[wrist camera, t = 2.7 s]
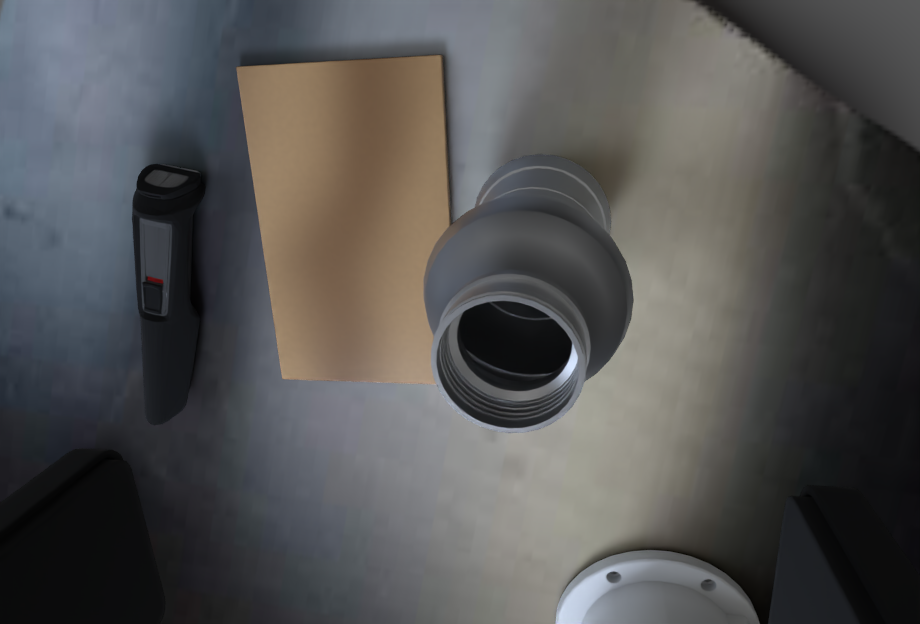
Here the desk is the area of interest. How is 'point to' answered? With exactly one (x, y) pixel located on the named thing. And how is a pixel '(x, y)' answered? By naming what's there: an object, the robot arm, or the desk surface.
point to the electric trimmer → (165, 284)
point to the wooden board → (349, 210)
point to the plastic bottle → (526, 295)
